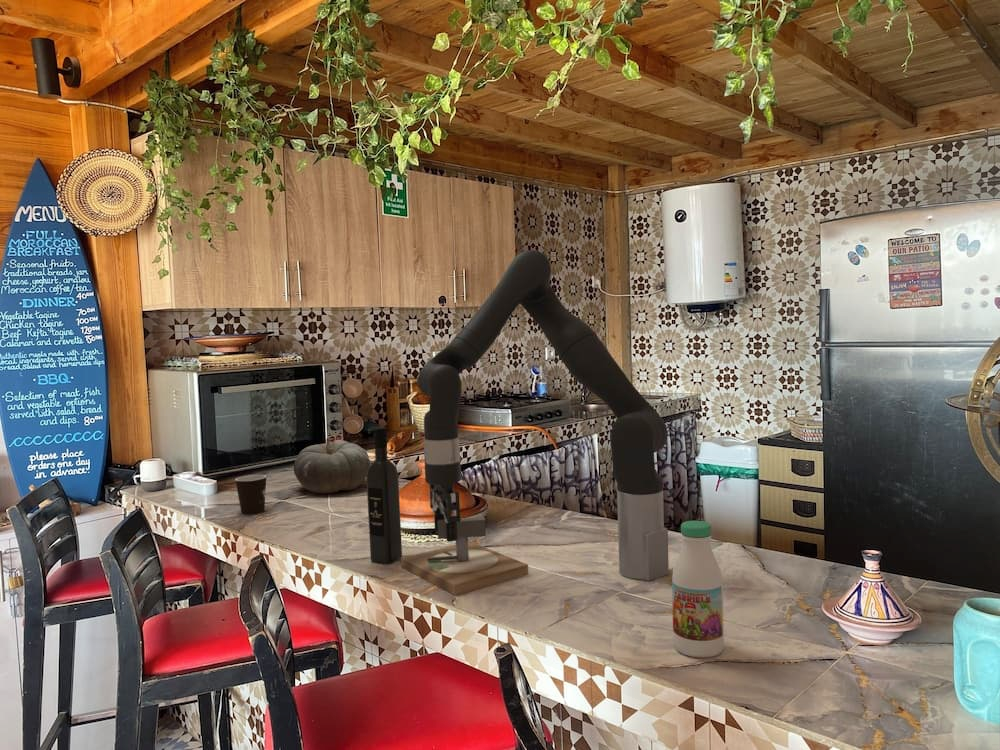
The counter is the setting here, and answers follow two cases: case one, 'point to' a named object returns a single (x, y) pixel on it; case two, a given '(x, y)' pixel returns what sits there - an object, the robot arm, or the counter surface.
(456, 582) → the wooden base stand
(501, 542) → the counter surface
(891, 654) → the counter surface
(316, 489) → the gourd
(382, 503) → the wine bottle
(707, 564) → the milk bottle
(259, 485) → the coffee mug
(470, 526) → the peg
